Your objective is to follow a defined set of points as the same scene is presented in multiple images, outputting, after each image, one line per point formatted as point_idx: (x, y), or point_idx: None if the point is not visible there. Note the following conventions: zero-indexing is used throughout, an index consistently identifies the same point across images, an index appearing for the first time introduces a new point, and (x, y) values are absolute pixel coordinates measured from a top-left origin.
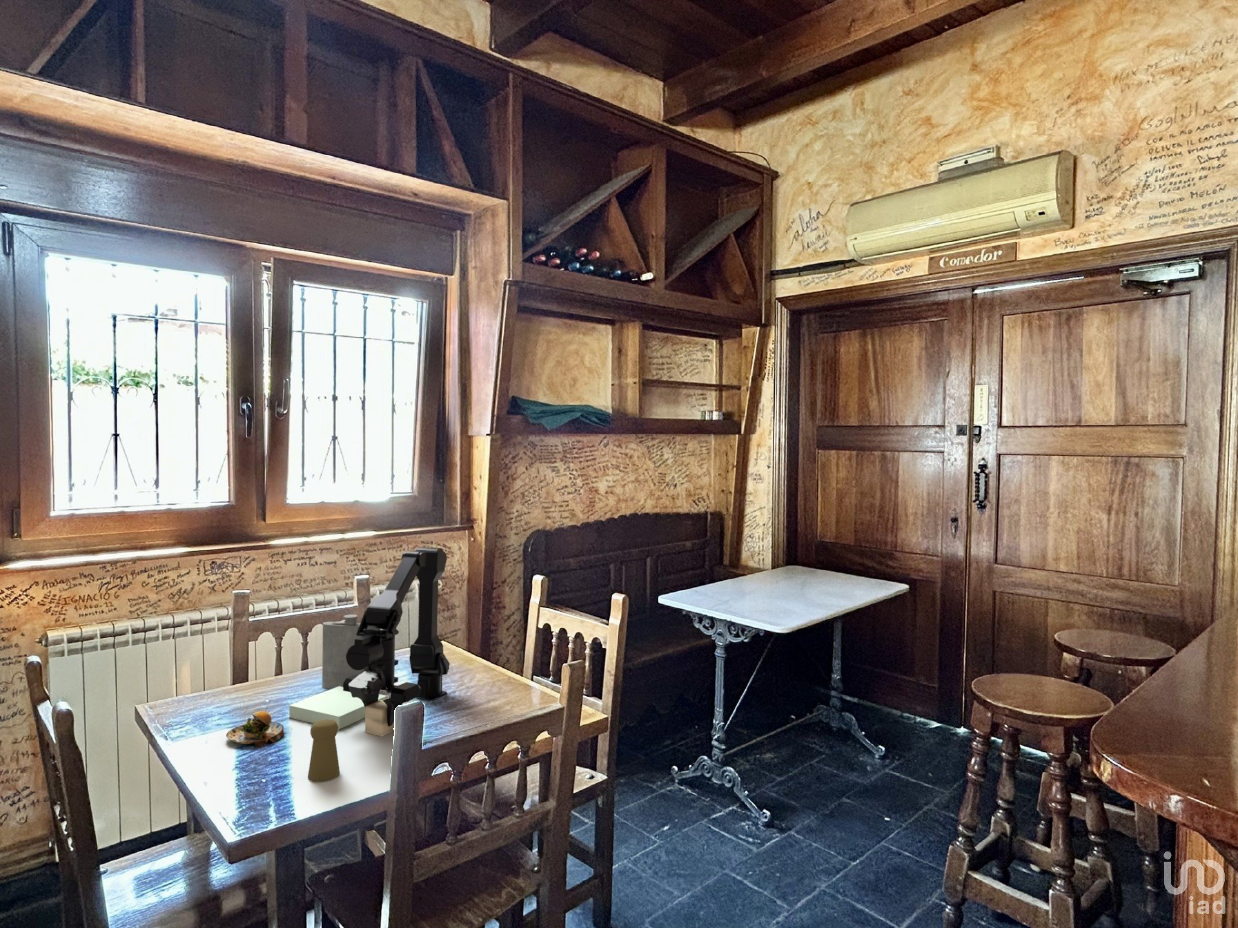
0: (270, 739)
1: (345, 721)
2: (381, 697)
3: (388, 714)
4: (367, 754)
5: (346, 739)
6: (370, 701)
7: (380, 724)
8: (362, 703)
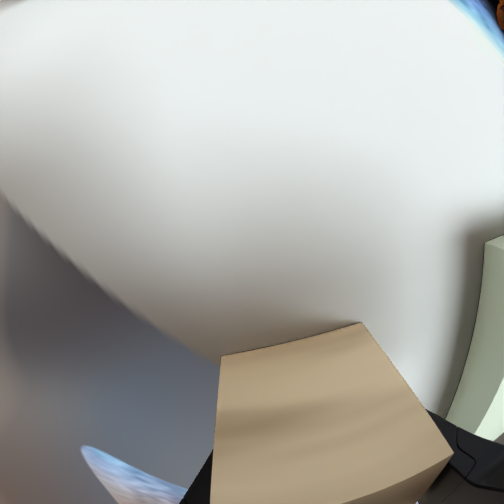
0: (500, 5)
1: (497, 294)
2: None
3: (206, 493)
4: (45, 137)
5: (363, 169)
6: (448, 490)
7: (231, 408)
8: (498, 408)
